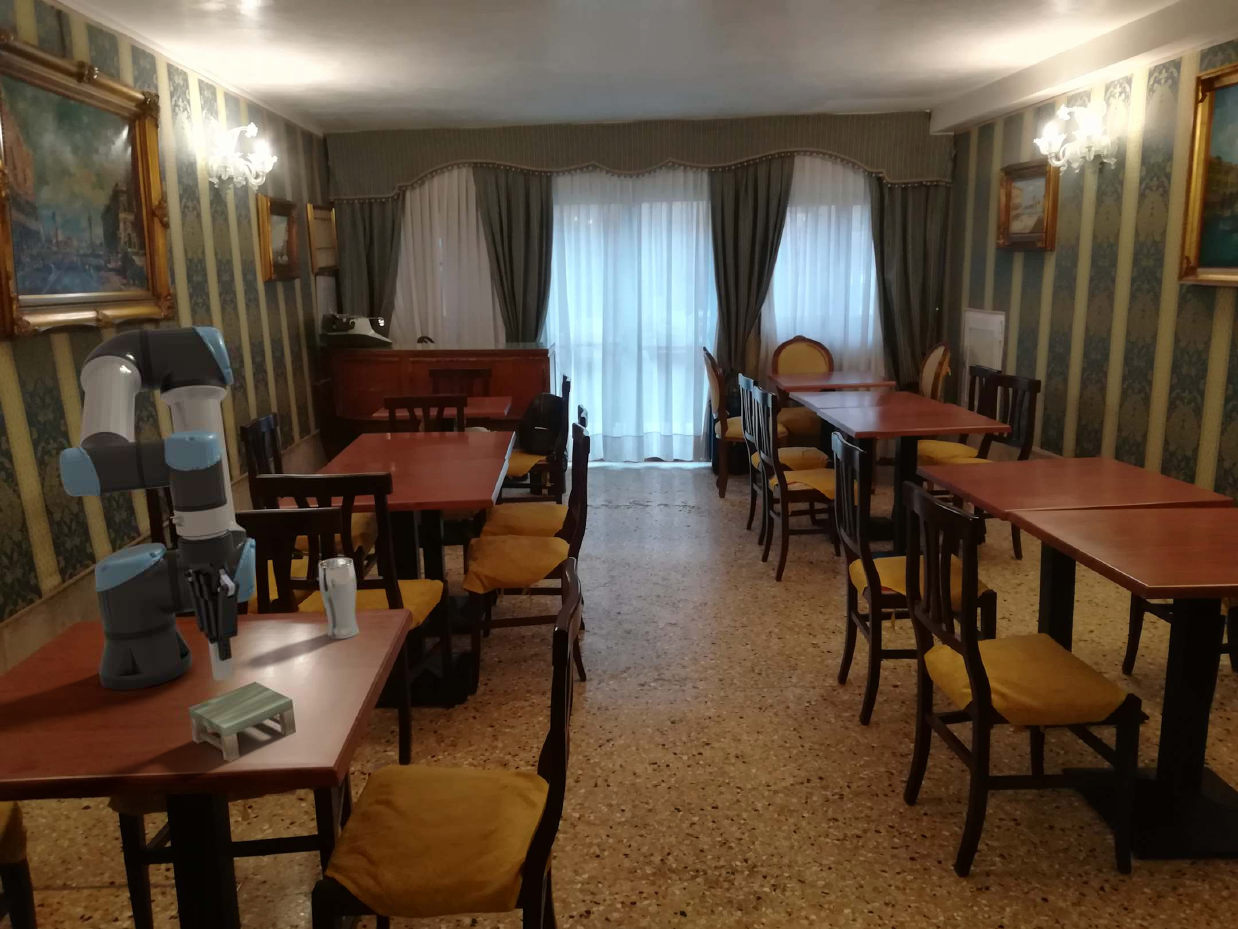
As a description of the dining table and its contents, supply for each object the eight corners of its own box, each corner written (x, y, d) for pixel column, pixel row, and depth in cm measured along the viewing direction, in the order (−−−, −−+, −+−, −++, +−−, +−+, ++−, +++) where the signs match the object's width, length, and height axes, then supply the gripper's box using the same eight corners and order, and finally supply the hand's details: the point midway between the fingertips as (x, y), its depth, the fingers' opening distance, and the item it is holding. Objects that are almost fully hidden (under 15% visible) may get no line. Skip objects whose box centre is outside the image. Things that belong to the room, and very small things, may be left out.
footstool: (188, 708, 137) (224, 728, 130) (254, 681, 145) (292, 699, 139) (193, 740, 138) (229, 762, 131) (258, 712, 147) (296, 731, 140)
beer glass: (341, 643, 174) (333, 570, 171) (317, 636, 178) (309, 564, 175) (368, 630, 180) (361, 560, 177) (345, 624, 184) (338, 555, 180)
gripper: (159, 532, 136) (180, 675, 141) (201, 546, 128) (222, 697, 133) (207, 521, 142) (225, 658, 147) (250, 533, 134) (268, 678, 139)
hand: (224, 676), depth 140 cm, fingers closed
